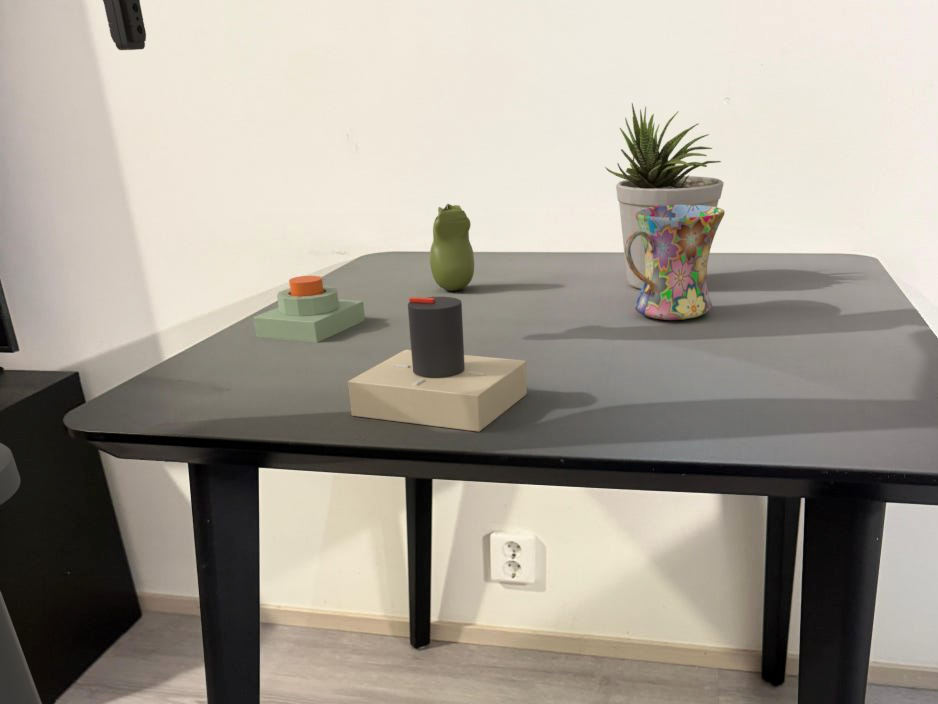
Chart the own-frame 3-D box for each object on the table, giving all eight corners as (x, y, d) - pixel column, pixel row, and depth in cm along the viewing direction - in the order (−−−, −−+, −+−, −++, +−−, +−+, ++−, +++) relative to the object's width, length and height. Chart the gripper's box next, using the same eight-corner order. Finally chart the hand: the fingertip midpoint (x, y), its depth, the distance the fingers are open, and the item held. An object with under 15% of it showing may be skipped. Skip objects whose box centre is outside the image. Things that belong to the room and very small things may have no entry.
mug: (672, 300, 109) (679, 201, 103) (732, 314, 102) (743, 210, 96) (594, 318, 103) (597, 215, 97) (653, 334, 96) (659, 224, 91)
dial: (472, 364, 79) (469, 294, 76) (452, 379, 76) (448, 306, 73) (425, 360, 81) (420, 291, 77) (404, 375, 77) (398, 303, 74)
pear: (470, 284, 121) (466, 200, 115) (480, 292, 116) (476, 205, 111) (428, 288, 119) (423, 203, 114) (436, 296, 115) (431, 209, 110)
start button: (312, 300, 100) (310, 283, 99) (284, 298, 101) (282, 281, 100) (330, 293, 103) (328, 276, 102) (303, 291, 104) (301, 274, 103)
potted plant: (643, 269, 124) (652, 97, 113) (733, 281, 116) (752, 97, 105) (584, 286, 117) (588, 104, 106) (676, 300, 109) (690, 104, 98)
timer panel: (479, 432, 74) (477, 393, 72) (351, 416, 78) (347, 379, 77) (527, 394, 81) (526, 358, 80) (407, 381, 86) (405, 347, 84)
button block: (317, 343, 99) (312, 304, 96) (256, 337, 102) (250, 299, 99) (365, 320, 106) (361, 284, 104) (307, 316, 109) (302, 280, 107)
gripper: (-19, -205, 73) (45, 53, 82) (107, -231, 68) (160, 47, 78) (54, -189, 79) (106, 51, 88) (175, -211, 74) (216, 46, 83)
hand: (131, 49), depth 83 cm, fingers closed
